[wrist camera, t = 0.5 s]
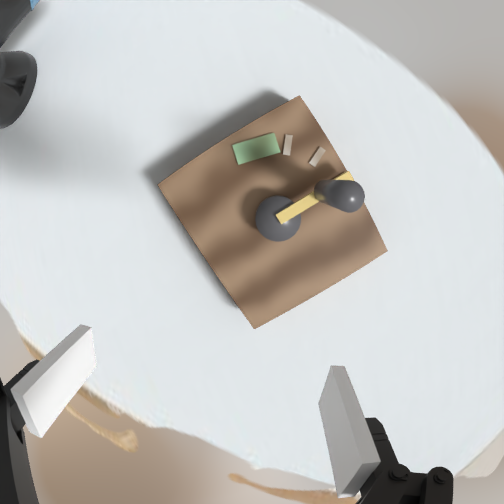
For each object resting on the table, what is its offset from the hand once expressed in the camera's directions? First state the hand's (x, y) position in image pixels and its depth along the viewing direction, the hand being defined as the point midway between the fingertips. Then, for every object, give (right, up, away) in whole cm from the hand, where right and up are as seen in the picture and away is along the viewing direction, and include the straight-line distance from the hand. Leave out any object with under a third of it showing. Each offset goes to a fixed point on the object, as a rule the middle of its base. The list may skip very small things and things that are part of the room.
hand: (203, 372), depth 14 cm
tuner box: (+6, +11, +24) cm, 27 cm away
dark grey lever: (+8, +12, +19) cm, 24 cm away
